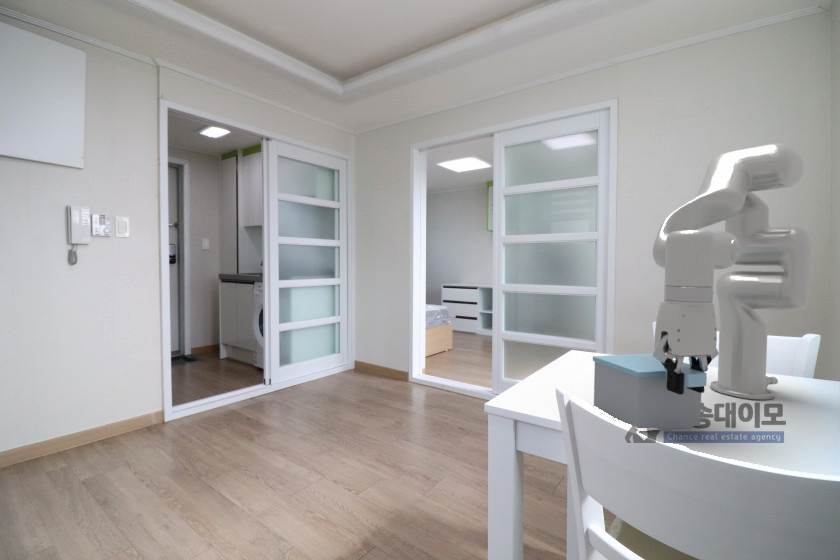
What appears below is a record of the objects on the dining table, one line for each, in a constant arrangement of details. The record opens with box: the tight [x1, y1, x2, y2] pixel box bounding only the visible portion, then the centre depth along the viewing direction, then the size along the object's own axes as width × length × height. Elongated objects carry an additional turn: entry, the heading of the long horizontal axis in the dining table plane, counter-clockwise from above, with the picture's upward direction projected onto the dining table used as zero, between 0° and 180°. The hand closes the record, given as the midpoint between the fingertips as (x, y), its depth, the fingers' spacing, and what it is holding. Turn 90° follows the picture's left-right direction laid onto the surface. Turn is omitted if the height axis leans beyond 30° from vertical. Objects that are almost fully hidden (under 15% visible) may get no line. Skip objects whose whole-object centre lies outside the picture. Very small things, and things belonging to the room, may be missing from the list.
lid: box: [592, 352, 708, 387], centre depth 79 cm, size 16×19×3 cm
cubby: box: [593, 361, 702, 431], centre depth 82 cm, size 15×13×11 cm
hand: (685, 390), depth 72 cm, fingers closed on lid, 3 cm apart
